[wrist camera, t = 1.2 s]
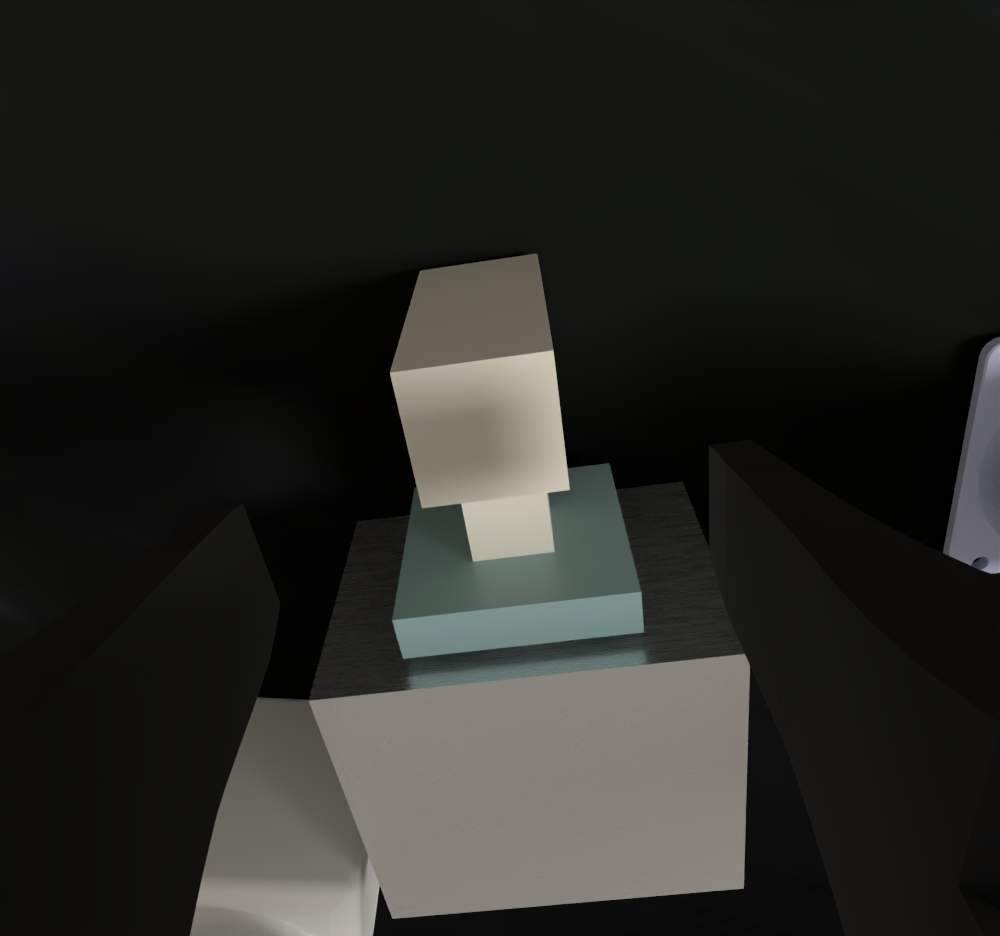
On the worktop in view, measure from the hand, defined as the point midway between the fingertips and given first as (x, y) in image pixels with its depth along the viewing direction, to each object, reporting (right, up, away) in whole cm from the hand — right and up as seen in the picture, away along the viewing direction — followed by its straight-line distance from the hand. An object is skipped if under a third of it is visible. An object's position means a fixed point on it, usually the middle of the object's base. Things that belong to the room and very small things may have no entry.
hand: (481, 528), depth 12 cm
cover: (+1, 0, +12) cm, 12 cm away
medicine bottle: (-8, -10, +18) cm, 22 cm away
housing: (+2, -4, +14) cm, 14 cm away
